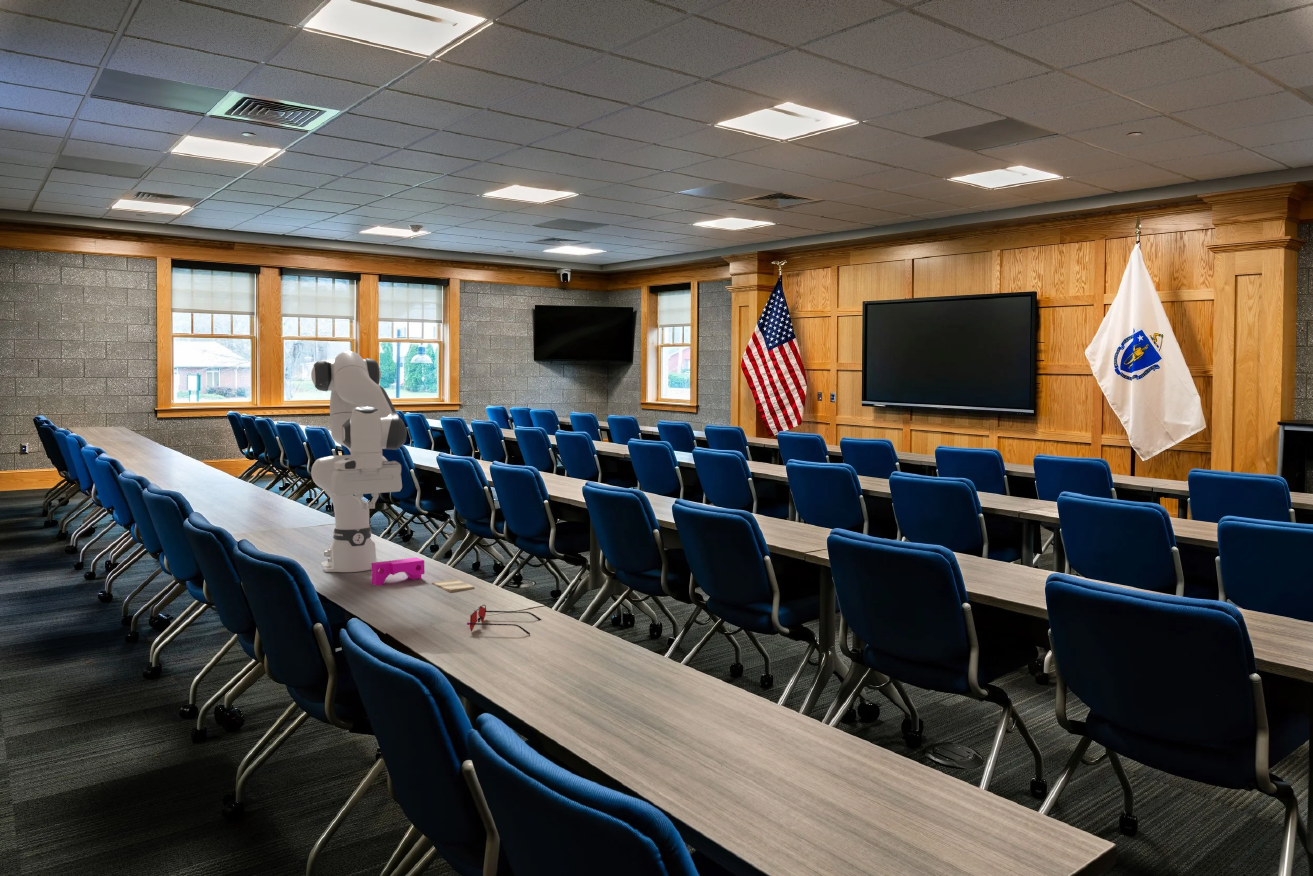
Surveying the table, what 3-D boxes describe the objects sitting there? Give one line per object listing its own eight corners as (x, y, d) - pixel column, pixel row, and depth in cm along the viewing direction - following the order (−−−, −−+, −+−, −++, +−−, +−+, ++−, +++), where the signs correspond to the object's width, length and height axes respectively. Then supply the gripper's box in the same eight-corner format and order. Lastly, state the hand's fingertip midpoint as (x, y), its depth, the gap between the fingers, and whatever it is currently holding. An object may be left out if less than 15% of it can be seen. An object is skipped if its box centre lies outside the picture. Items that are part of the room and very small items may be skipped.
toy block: (424, 560, 287) (424, 583, 287) (416, 557, 292) (416, 580, 292) (378, 565, 278) (379, 589, 278) (371, 563, 283) (371, 586, 283)
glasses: (482, 620, 241) (482, 601, 241) (542, 621, 240) (542, 603, 239) (466, 634, 227) (466, 614, 227) (529, 635, 226) (529, 616, 225)
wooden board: (431, 586, 282) (431, 582, 282) (455, 582, 287) (455, 579, 287) (450, 593, 271) (450, 590, 271) (474, 590, 276) (474, 586, 276)
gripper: (397, 459, 270) (397, 505, 271) (328, 463, 258) (329, 510, 258) (405, 461, 265) (405, 507, 266) (335, 464, 253) (336, 512, 253)
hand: (367, 508), depth 262 cm, fingers closed
